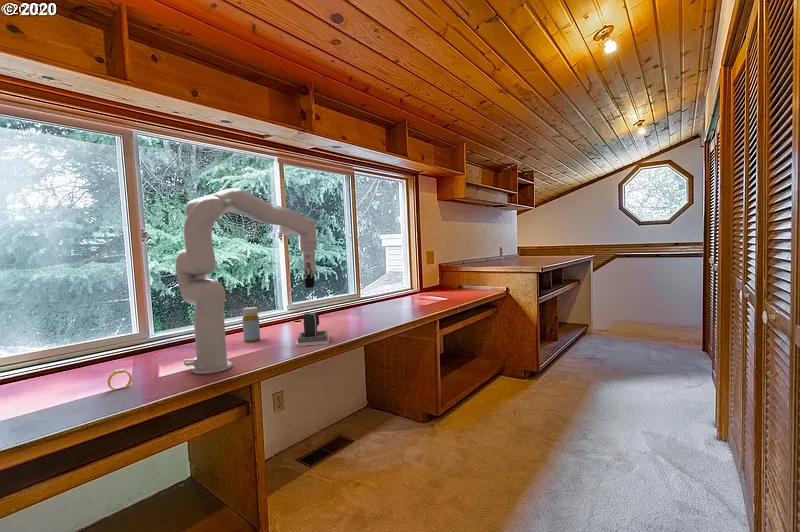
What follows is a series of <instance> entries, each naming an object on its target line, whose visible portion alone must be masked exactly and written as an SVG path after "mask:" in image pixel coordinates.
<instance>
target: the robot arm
mask: <svg viewBox="0 0 800 532" xmlns="http://www.w3.org/2000/svg"><path fill="white" fill-rule="evenodd" d="M233 212H235V213H237V214H240V215H242V216H244V217H247V218H249V219H251V220H253V221H255V222H257V223H260V224H266V225H276V226H278V228H277V229H278V231H279V232H280V233H281V234H282V235H284V236H286V237H292V236H298V248H299V249H298V251H299V252H301V254H302V255H301V256H302V267H303V273H304V275H305V276H304V277H305V278H304V282H305V283H304V286H305V288H306V289H309V288H314V286H315V276H314V274H316V272H317V264H316V263H317V261H316V251H317V250H318V244H317V226H316V225H317V224H316V220H315V219H314V218H307V217H305V215H302V214H301V213H298V212H297V211H295V210H294V209H293V210H292V209H290V208H286V207H284V206H280V205H278V204H274V203H270V202H267V201H265V200H263V199H261V198H259V197H257V196H255V195H254V194H252V193H250V192H248V191H246V190H244V189H242V188H239V187H231V188H227V189H223V190H220V191H217V192H215V193H212V194H209V195H205V196H201V197H198V198H196V199H193V200H192V199H191V200H190V201H188V203H187V204H186V205H185V209H184V214H185V216H186V219H185V220H184V224H183V228H182V229H183V231H182V232H183V240H184V241H183V242H184V249H183V250H181V251H180V252H179V253H178V255H176V258H175V272H176V277H177V283H178V287H179V292H180V295H181V297H182V299H183V301H184V302H186V303H187V304H189V305H192V306H194V312H193V327H194V329H193V330H194V339H195V341H194V342H195V353H196V354H195V355H196V357H194V358H187V359H184V360H183V365H184V366H186V367H189V366H192V368H191V369H192V373H193V374H195V375H210V374H217V373H220V372H223V371H227V370H229V369H230V368H232V367H233V362H232V361H230V360H228V355H227V354H228V353H227V342H226V340H227V339H226V328H225V327H226V324H225V302H226V290H225V288H224V285H223V284H222V283H221V282H220V281H218V280H216V279H212V278H206V276H207V275H209V274H211V273H212V274H213V272H214V271H215V270H216V266H217V262H216V260H217V259H216V256H215V249H214V244H213V238H212V237H213V235H212V230H213V227H214V224H215V223H216V222H217V220H218V219H220V218H221V217H222V215H225V214H228V213H233Z"/></svg>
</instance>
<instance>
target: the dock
mask: <svg viewBox="0 0 800 532" xmlns="http://www.w3.org/2000/svg"><path fill="white" fill-rule="evenodd" d="M317 334H318V336H317V337H305V334H304V331H303V332H302V331H301V332H299V334H298V337H297V339H296V341H295V347H296V348H298V347H297V346H299V347H308V346H307V345H311V346H318V345H317V344H323V345H329V344H330V342H329V341H331V335H330V333H329V334H328V330H317Z"/></svg>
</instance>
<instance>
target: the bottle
mask: <svg viewBox="0 0 800 532" xmlns="http://www.w3.org/2000/svg"><path fill="white" fill-rule="evenodd" d="M242 331H243V335H242V336H243V341H244V342H245V343H254V342H253V341H255V342H258V341H260V339H261V334H260V333H261V332H260V317H259V315H258V307H257V306H249V307H244V308H242Z"/></svg>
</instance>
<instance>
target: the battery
mask: <svg viewBox="0 0 800 532" xmlns="http://www.w3.org/2000/svg"><path fill="white" fill-rule="evenodd" d="M319 316H320V315H319V314H318V313H316V312H305V313H304V314H303V317H302V318H303V320H302V321H303V330H304V331H303V332H304V334H305V337H317V336H318V334H317V331H318V326H320V317H319Z"/></svg>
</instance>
